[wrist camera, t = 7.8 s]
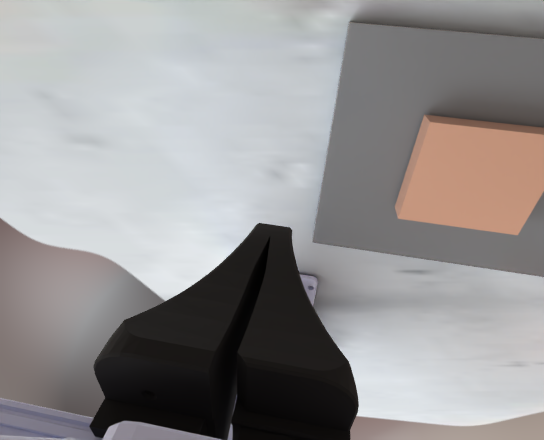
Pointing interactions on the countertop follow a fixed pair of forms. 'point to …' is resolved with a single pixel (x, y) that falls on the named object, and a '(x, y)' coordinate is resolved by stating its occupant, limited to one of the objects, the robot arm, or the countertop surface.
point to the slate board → (404, 130)
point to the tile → (473, 174)
